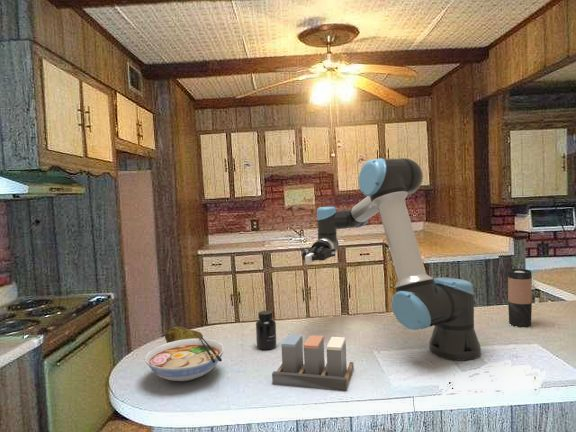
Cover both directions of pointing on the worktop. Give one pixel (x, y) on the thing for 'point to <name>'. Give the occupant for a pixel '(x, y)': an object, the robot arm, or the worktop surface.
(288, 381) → the key bed
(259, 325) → the supplement bottle
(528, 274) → the travel mug
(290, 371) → the slate key
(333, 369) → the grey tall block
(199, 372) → the ramen bowl
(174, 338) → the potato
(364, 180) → the robot arm
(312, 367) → the terracotta key
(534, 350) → the worktop surface
